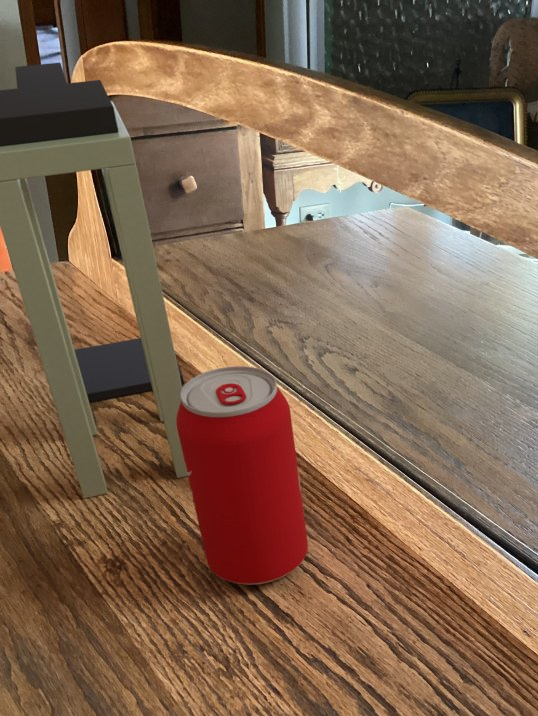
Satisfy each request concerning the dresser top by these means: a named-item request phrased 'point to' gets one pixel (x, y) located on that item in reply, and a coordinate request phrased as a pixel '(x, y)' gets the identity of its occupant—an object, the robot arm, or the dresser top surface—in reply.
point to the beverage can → (243, 474)
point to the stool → (41, 298)
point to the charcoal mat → (115, 370)
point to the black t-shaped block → (53, 107)
